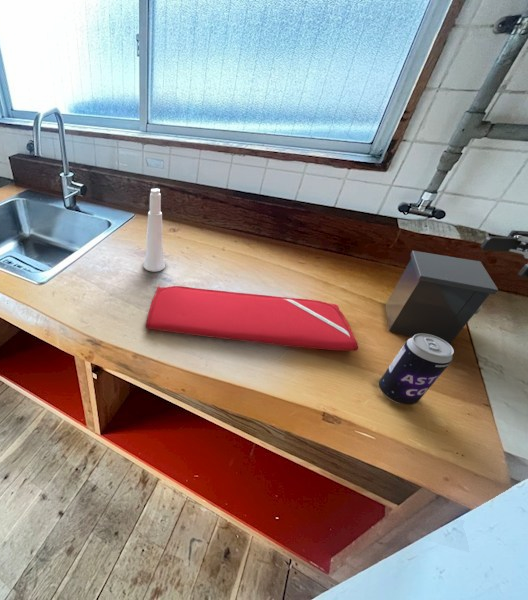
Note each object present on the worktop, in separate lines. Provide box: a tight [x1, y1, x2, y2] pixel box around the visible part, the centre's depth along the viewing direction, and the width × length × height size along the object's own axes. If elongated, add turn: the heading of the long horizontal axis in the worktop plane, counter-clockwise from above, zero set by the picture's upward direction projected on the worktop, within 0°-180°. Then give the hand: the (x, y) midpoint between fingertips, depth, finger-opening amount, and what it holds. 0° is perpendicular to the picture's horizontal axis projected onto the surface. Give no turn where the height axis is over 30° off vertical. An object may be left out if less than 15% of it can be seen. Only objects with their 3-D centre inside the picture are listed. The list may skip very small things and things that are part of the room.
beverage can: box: [378, 333, 455, 406], centre depth 52 cm, size 6×6×12 cm
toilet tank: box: [384, 250, 499, 345], centre depth 65 cm, size 11×11×14 cm
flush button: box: [474, 304, 483, 315], centre depth 63 cm, size 3×3×3 cm
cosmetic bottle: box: [143, 188, 166, 272], centre depth 86 cm, size 6×6×22 cm
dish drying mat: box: [145, 285, 359, 352], centre depth 71 cm, size 16×41×4 cm, turn 76°
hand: (502, 255), depth 49 cm, fingers open, 8 cm apart
